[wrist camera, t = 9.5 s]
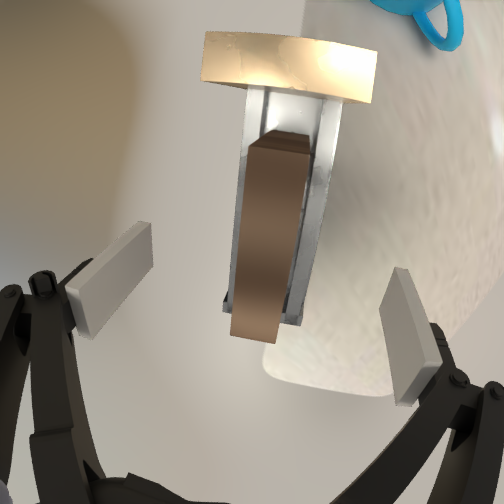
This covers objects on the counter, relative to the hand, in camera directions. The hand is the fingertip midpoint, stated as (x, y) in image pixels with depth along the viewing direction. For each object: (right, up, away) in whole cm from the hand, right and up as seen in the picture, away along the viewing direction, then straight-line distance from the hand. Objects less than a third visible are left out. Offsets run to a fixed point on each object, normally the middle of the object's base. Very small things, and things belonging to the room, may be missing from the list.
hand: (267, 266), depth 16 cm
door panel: (+2, +5, +10) cm, 11 cm away
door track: (+2, +5, +10) cm, 12 cm away
